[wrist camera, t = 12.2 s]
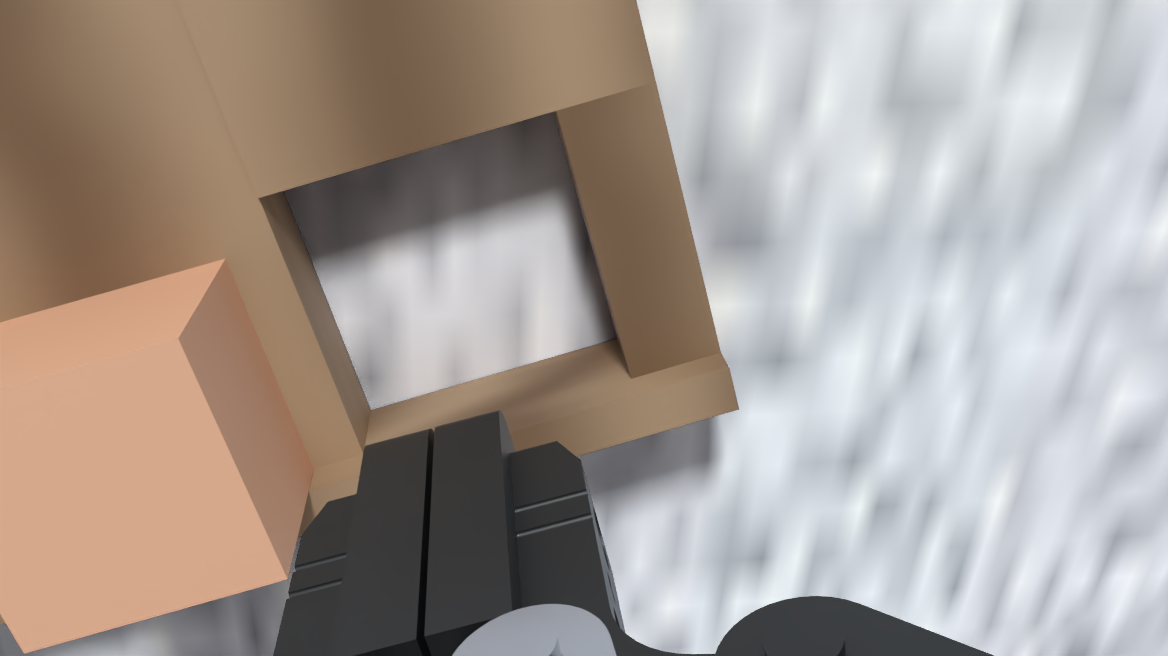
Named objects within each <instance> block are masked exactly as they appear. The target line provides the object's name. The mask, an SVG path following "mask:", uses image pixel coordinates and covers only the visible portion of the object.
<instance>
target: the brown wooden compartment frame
mask: <svg viewBox="0 0 1168 656" xmlns="http://www.w3.org/2000/svg"><path fill="white" fill-rule="evenodd" d="M551 112H554V115H555V119H556V122H557V126H558V129H559V133H560V137H561V140H562V144H563V147H564V151H565V154H566V158H567V161H568V165H569V168H570V172H571V175H572V179H573V183H574V186H575V190H576V193H577V197H578V200H579V204H580V207H581V211H582V214H583V218H584V222H585V225H586V229H587V232H588V236H589V239H590V243H591V246H592V250H593V253H594V257H595V261H596V264H597V268H598V271H599V275H600V278H601V282H602V285H603V289H604V292H605V296H606V299H607V303H608V307H609V310H610V314H611V317H612V321H613V324H614V328H615V331H616V335H617V339H614V340H610V341H607V342H603V343H600V344H596V345H593V346H590V347H586V348H583V349H579V350H576V351H572V352H569V353H566V354H562V355H559V356H555V357H552V358H548V359H545V360H542V361H538V362H535V363H531V364H528V365H524V366H521V367H518V368H514V369H511V370H507V371H504V372H500V373H497V374H494V375H490V376H487V377H483V378H480V379H477V380H473V381H470V382H466V383H463V384H459V385H456V386H453V387H449V388H446V389H442V390H439V391H435V392H432V393H429V394H425V395H422V396H418V397H415V398H411V399H408V400H405V401H401V402H398V403H394V404H391V405H387V406H384V407H381V408H377V409H374V410H370V407H369V405H368V402H367V400H366V397H365V395H364V392H363V390H362V387H361V385H360V382H359V380H358V377H357V375H356V372H355V370H354V367H353V365H352V362H351V360H350V357H349V355H348V352H347V350H346V347H345V345H344V342H343V339H342V337H341V334H340V332H339V329H338V327H337V324H336V322H335V319H334V317H333V314H332V312H331V309H330V307H329V304H328V302H327V299H326V297H325V294H324V292H323V289H322V287H321V284H320V282H319V279H318V277H317V274H316V272H315V269H314V267H313V264H312V262H311V259H310V257H309V254H308V251H307V249H306V246H305V244H304V241H303V239H302V236H301V234H300V231H299V229H298V226H297V224H296V221H295V219H294V216H293V214H292V211H291V209H290V206H289V204H288V201H287V199H286V196H285V194H284V191H285V190H288V189H292V188H295V187H298V186H302V185H305V184H309V183H312V182H315V181H319V180H322V179H326V178H329V177H332V176H336V175H339V174H343V173H346V172H349V171H353V170H356V169H360V168H363V167H367V166H370V165H373V164H377V163H380V162H384V161H387V160H390V159H394V158H397V157H401V156H404V155H407V154H411V153H414V152H418V151H421V150H424V149H428V148H431V147H435V146H438V145H442V144H445V143H448V142H452V141H455V140H459V139H462V138H465V137H469V136H472V135H476V134H479V133H482V132H486V131H489V130H493V129H496V128H499V127H503V126H506V125H510V124H513V123H516V122H520V121H523V120H527V119H530V118H534V117H537V116H540V115H544V114H547V113H551ZM223 259H226V261H227V263H228V266H229V268H230V271H231V273H232V275H233V278H234V280H235V282H236V285H237V287H238V290H239V292H240V294H241V297H242V299H243V301H244V304H245V306H246V309H247V311H248V313H249V316H250V318H251V320H252V323H253V325H254V328H255V330H256V332H257V335H258V337H259V339H260V342H261V344H262V347H263V349H264V351H265V354H266V356H267V358H268V361H269V363H270V366H271V368H272V370H273V373H274V375H275V377H276V380H277V382H278V385H279V387H280V389H281V392H282V394H283V396H284V399H285V401H286V404H287V406H288V408H289V411H290V413H291V415H292V418H293V420H294V423H295V425H296V427H297V430H298V432H299V434H300V437H301V439H302V442H303V444H304V446H305V449H306V451H307V453H308V456H309V458H310V461H311V463H312V465H313V468H314V471H313V475H312V479H311V483H310V487H309V492H308V496H307V500H306V504H305V508H304V513H303V517H302V521H301V525H300V530H299V534H298V538H299V537H302V534H303V533H304V531H305V530H306V529H307V527H308V526H309V525H310V524H311V522H312V521H313V520H314V518H315V517H316V516H317V515H318V513H319V512H320V511H321V510H322V508H323V507H324V506H325V504H326V503H327V502H328V501H332V500H336V499H339V498H343V497H347V496H351V495H355V494H356V493H357V487H358V482H359V476H360V470H361V464H362V458H363V452H364V448H365V446H366V445H369V444H373V443H377V442H381V441H385V440H388V439H392V438H396V437H400V436H403V435H407V434H411V433H415V432H419V431H422V430H426V429H430V428H431V429H433V430H434V431H435V427H437V426H441V425H444V424H448V423H452V422H456V421H460V420H463V419H467V418H471V417H475V416H479V415H482V414H486V413H490V412H494V411H497V410H501V412H502V413H503V416H504V418H505V420H506V423H507V426H508V429H509V432H510V435H511V439H512V442H513V445H514V448H515V452H517V451H521V450H524V449H528V448H532V447H536V446H540V445H543V444H547V443H551V442H555V441H558V442H559V443H560V444H561V445H563V446H564V447H565V448H566V449H568V450H569V451H570V452H571V453H572V454H574V455H575V456H576V457H577V456H580V455H584V454H587V453H591V452H594V451H597V450H601V449H604V448H608V447H611V446H615V445H618V444H622V443H625V442H628V441H632V440H635V439H639V438H642V437H646V436H649V435H652V434H656V433H659V432H663V431H666V430H670V429H673V428H676V427H680V426H683V425H687V424H690V423H694V422H697V421H700V420H704V419H707V418H711V417H714V416H718V415H721V414H724V413H728V412H731V411H735V410H738V409H739V407H738V403H737V398H736V394H735V390H734V386H733V382H732V377H731V373H730V369H729V367H728V365H727V363H726V361H725V360H724V358H723V356H722V354H721V351H720V347H719V343H718V339H717V335H716V331H715V326H714V322H713V318H712V314H711V310H710V306H709V302H708V297H707V293H706V289H705V285H704V281H703V277H702V272H701V268H700V264H699V260H698V256H697V252H696V247H695V243H694V239H693V235H692V231H691V227H690V222H689V218H688V214H687V210H686V206H685V202H684V198H683V193H682V189H681V185H680V181H679V177H678V173H677V168H676V164H675V160H674V156H673V152H672V148H671V143H670V139H669V135H668V131H667V127H666V123H665V118H664V114H663V110H662V106H661V102H660V98H659V94H658V89H657V85H656V81H655V77H654V73H653V69H652V64H651V60H650V56H649V52H648V48H647V44H646V39H645V35H644V31H643V27H642V23H641V19H640V14H639V10H638V6H637V2H636V0H0V322H4V321H7V320H11V319H14V318H18V317H21V316H25V315H28V314H32V313H35V312H39V311H42V310H46V309H49V308H53V307H57V306H60V305H64V304H67V303H71V302H74V301H78V300H81V299H85V298H88V297H92V296H95V295H99V294H102V293H106V292H110V291H113V290H117V289H120V288H124V287H127V286H131V285H134V284H138V283H141V282H145V281H148V280H152V279H155V278H159V277H162V276H166V275H170V274H173V273H177V272H180V271H184V270H187V269H191V268H194V267H198V266H201V265H205V264H208V263H212V262H215V261H219V260H223ZM4 623H5V621H4V619H3V618H2V616H1V614H0V624H4Z"/></svg>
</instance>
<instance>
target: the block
mask: <svg viewBox="0 0 1168 656" xmlns="http://www.w3.org/2000/svg"><path fill="white" fill-rule="evenodd" d="M313 471H314V468H313V465H312V463H311V461H310V458H309V456H308V453H307V451H306V449H305V446H304V444H303V442H302V439H301V437H300V434H299V432H298V430H297V427H296V425H295V423H294V420H293V418H292V415H291V413H290V411H289V408H288V406H287V404H286V401H285V399H284V396H283V394H282V392H281V389H280V387H279V385H278V382H277V380H276V377H275V375H274V373H273V370H272V368H271V366H270V363H269V361H268V358H267V356H266V354H265V351H264V349H263V347H262V344H261V342H260V339H259V337H258V335H257V332H256V330H255V328H254V325H253V323H252V320H251V318H250V316H249V313H248V311H247V309H246V306H245V304H244V301H243V299H242V297H241V294H240V292H239V290H238V287H237V285H236V282H235V280H234V278H233V275H232V273H231V271H230V268H229V266H228V263H227V261H226V259H223V260H219V261H215V262H212V263H208V264H205V265H201V266H198V267H194V268H191V269H187V270H184V271H180V272H177V273H173V274H170V275H166V276H162V277H159V278H155V279H152V280H148V281H145V282H141V283H138V284H134V285H131V286H127V287H124V288H120V289H117V290H113V291H110V292H106V293H102V294H99V295H95V296H92V297H88V298H85V299H81V300H78V301H74V302H71V303H67V304H64V305H60V306H57V307H53V308H49V309H46V310H42V311H39V312H35V313H32V314H28V315H25V316H21V317H18V318H14V319H11V320H7V321H4V322H0V614H1V616H2V618H3V619H4V621H5V623H6V624H7V626H8V628H9V629H10V631H11V633H12V634H13V636H14V638H15V639H16V641H17V643H18V644H19V646H20V648H21V649H22V651H23V653H24V654H25V653H29V652H32V651H36V650H39V649H43V648H46V647H50V646H53V645H57V644H61V643H64V642H68V641H71V640H75V639H78V638H82V637H85V636H89V635H92V634H96V633H99V632H103V631H107V630H110V629H114V628H117V627H121V626H124V625H128V624H131V623H135V622H138V621H142V620H146V619H149V618H153V617H156V616H160V615H163V614H167V613H170V612H174V611H177V610H181V609H184V608H188V607H192V606H195V605H199V604H202V603H206V602H209V601H213V600H216V599H220V598H223V597H227V596H231V595H234V594H238V593H241V592H245V591H248V590H252V589H255V588H259V587H262V586H266V585H270V584H273V583H277V582H280V581H284V580H287V579H288V576H289V572H290V567H291V563H292V559H293V555H294V551H295V546H296V542H297V538H298V534H299V530H300V525H301V521H302V517H303V513H304V508H305V504H306V500H307V496H308V492H309V487H310V483H311V479H312V475H313Z"/></svg>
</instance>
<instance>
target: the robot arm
mask: <svg viewBox="0 0 1168 656" xmlns="http://www.w3.org/2000/svg"><path fill="white" fill-rule="evenodd" d="M295 569H296V572H293V575H292V579H291V583H290V588H289V592H288V593H289V597H290V599H287V600H286V604H285V609H284V613H283V617H282V621H281V625H280V630H279V634H278V638H277V642H276V646H275V651H274V655H273V656H993V655H991V654H988V653H986V652H983V651H980V650H978V649H975V648H973V647H970V646H967V645H965V644H962V643H960V642H957V641H955V640H952V639H949V638H947V637H944V636H942V635H939V634H936V633H934V632H931V631H929V630H926V629H923V628H921V627H918V626H916V625H913V624H911V623H908V622H905V621H903V620H900V619H898V618H895V617H892V616H890V615H887V614H885V613H882V612H879V611H877V610H874V609H872V608H869V607H867V606H864V605H861V604H859V603H855V602H852V601H849V600H846V599H840V598H834V597H822V596H809V597H798V598H792V599H786V600H782V601H779V602H776V603H772V604H769V605H767V606H765V607H762V608H760V609H758V610H756V611H754V612H752V613H751V614H749V615H747V616H746V617H744V618H743V619H742V620H740V621H739V622H738V623H737V624H736V625H734V626H733V627H732V628H731V629H730V631H729V632H728V633H727V634H726V635H725V636H724V638H723V639H722V641H721V643H720V644H719V646H718V648H717V651H716V654H676V653H670V652H664V651H660V650H657V649H653V648H650V647H647V646H645V645H643V644H641V643H639V642H637V641H635V640H634V639H632V638H631V637H629V636H628V635H627V634H626V633H625V630H624V625H623V620H622V616H621V611H620V607H619V601H618V597H617V592H616V587H615V583H614V578H613V573H612V570H611V566H610V563H609V559H608V556H607V552H606V548H605V545H604V541H603V538H602V534H601V531H600V527H599V523H598V520H597V516H596V513H595V509H594V506H593V502H592V499H591V495H590V491H589V488H588V484H587V481H586V477H585V474H584V470H583V467H582V463H581V460H580V459H578V458H577V457H576V456H575V455H574V454H572V453H571V452H570V451H569V450H568V449H566V448H565V447H564V446H563V445H561V444H560V443H559V442H558V441H555V442H551V443H547V444H543V445H540V446H536V447H532V448H528V449H524V450H521V451H517V452H515V448H514V445H513V442H512V439H511V435H510V432H509V429H508V426H507V423H506V420H505V418H504V416H503V413H502V412H501V410H497V411H494V412H490V413H486V414H482V415H479V416H475V417H471V418H467V419H463V420H460V421H456V422H452V423H448V424H444V425H441V426H437V427H435V431H434V430H433V429H431V428H430V429H426V430H422V431H419V432H415V433H411V434H407V435H403V436H400V437H396V438H392V439H388V440H385V441H381V442H377V443H373V444H369V445H366V446H365V448H364V452H363V458H362V464H361V470H360V476H359V482H358V487H357V493H356V494H355V495H351V496H347V497H343V498H339V499H336V500H332V501H328V502H327V503H326V504H325V506H324V507H323V508H322V510H321V511H320V512H319V513H318V515H317V516H316V517H315V518H314V520H313V521H312V522H311V524H310V525H309V526H308V527H307V529H306V530H305V531H304V533H303V534H302V537H301V542H300V546H299V550H298V554H297V558H296V563H295Z"/></svg>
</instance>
